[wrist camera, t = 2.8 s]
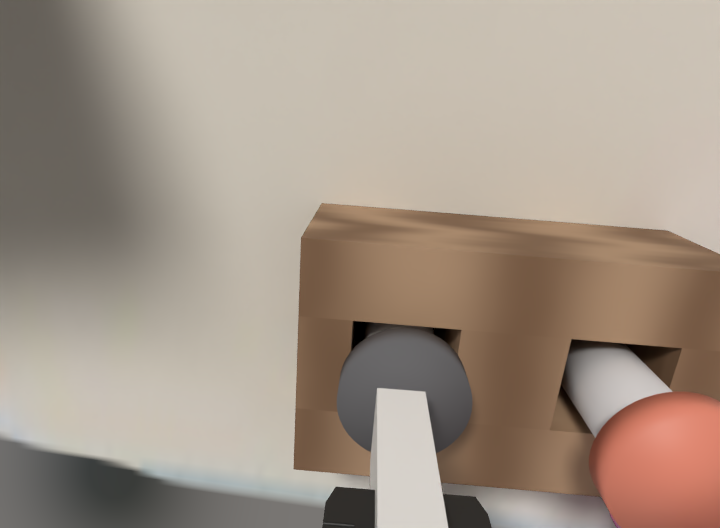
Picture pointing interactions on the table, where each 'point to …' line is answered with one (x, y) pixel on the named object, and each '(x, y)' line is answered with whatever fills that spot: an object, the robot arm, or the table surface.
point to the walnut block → (499, 328)
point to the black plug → (404, 380)
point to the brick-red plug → (645, 439)
